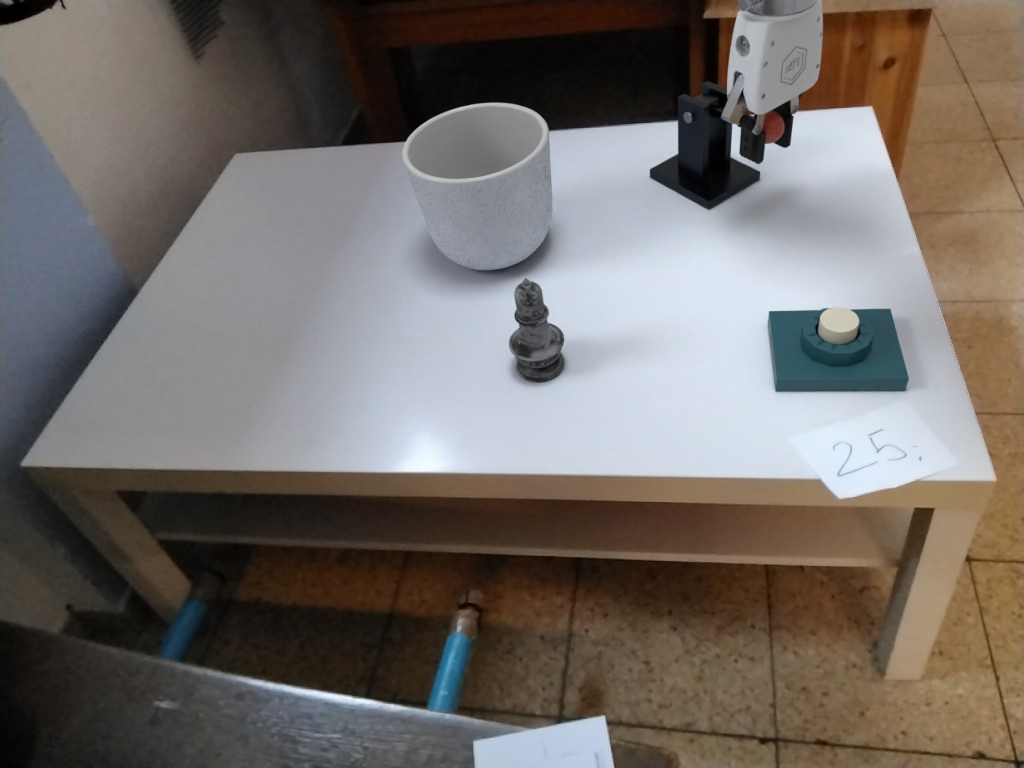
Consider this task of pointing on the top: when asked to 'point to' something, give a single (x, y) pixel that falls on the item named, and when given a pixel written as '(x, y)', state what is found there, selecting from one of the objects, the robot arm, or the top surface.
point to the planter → (483, 182)
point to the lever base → (704, 155)
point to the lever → (771, 121)
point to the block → (836, 354)
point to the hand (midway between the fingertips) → (764, 149)
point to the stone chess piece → (535, 336)
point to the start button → (838, 326)
